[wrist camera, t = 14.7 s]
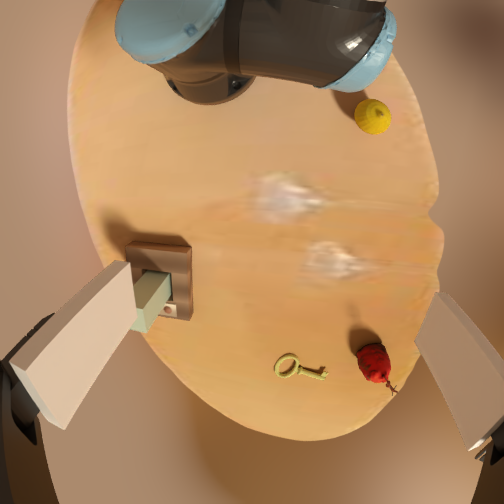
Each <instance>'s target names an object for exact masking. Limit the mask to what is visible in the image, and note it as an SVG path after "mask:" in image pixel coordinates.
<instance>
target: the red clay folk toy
mask: <svg viewBox="0 0 504 504" xmlns="http://www.w3.org/2000/svg"><path fill="white" fill-rule="evenodd" d="M357 357H358V366H359V369H360V370H361V371H362V373H363V375H364V376H365V378H366V379H367V380H368V381H373V382H374V383H380V382H383V383H384V382H386V381H387V384H386V387H389V388H390V389H391V391H392V396H393V392H396V393H398V391H395V390H394V389H395V388H396V386H397V385H396V386H395V388H394V389H393V387H392V386H391V385H390V381H388V375H389V373H390V370H391V364H390V359H389V356H388V354H387V352H386V348H385V346H384V345H383V344H381V343H378V344H370V345H367V346H364V347H362V349H361V350H359V351H358V352H357Z"/></svg>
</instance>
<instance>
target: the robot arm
mask: <svg viewBox="0 0 504 504" xmlns="http://www.w3.org/2000/svg"><path fill="white" fill-rule="evenodd" d="M386 1H387V0H124V1H123V3H122V5H121V7H120V9H119V11H118V13H117V16H116V21H115V36H116V39H117V42H118V43H119V45H120V46H121V47H122V49H123V50H124V51H126V52H127V53H128V54H130V55H131V57H132V58H133V59H135V60H136V61H138V62H142V63H143V64H147V65H149V66H150V67H152V68H154V69H156V70H158V71H159V72H161V73H163V74H165V77H166V80H167V82H168V84H169V86H170V87H171V88H172V90H173V91H174V92H175V93H176V94H178V95H179V96H180V97H182V98H184V99H186V100H188V101H190V102H192V103H196V104H200V105H217V104H221V103H225V102H228V101H230V100H233V99H234V98H236V97H238V96H239V95H241V94H242V93H243V92H245V91H246V90H247V89H248V88H249V87H250V85H251V84H252V83H253V81H254V80H255V78H256V76H261V77H269V78H276V79H282V80H289V81H294V82H300V83H305V84H310V85H313V86H314V87H316V88H319V89H333V90H337V91H342V92H348V93H350V92H357V91H361V90H363V89H364V88H366V87H368V86H369V85H370V84H371V83H372V82H373V81H374V80H375V79H376V78H377V77H378V75H379V74H380V73H381V71H382V70H383V68H384V67H385V65H386V63H387V61H388V59H389V57H390V55H391V52H392V49H393V45H392V41H393V40H394V38H395V37H396V30H397V25H396V20H395V17H394V15H393V13H392V12H391V11H390V10H388V8H387V7H385V4H386ZM137 318H138V316H137V310H136V304H135V297H134V290H133V283H132V275H131V266H130V262H123V261H116V260H115V261H114V262H112V263H111V264H110V265H109V266H108V267H106V268H105V269H104V270H103V271H102V272H100V273H99V274H98V275H97V276H96V277H95V278H94V279H92V280H91V281H90V282H89V283H88V284H87V285H86V286H84V287H83V288H82V289H81V290H80V291H79V292H78V293H77V294H75V295H74V296H73V297H72V298H71V299H70V300H69V301H68V302H67V303H66V304H65V305H64V306H63V307H61V308H60V309H59V310H58V311H57V312H56V313H52V314H51V315H49V316H47V317H45V318H43V319H42V320H41V321H40V322H39V323H38V324H37V325H36V326H35V327H34V329H31V331H29V333H27V336H25V337H24V338H23V339H22V340H21V341H20V342H19V343H18V344H17V345H16V346H15V347H14V348H13V349H12V350H11V351H10V352H9V353H8V354H7V355H6V356H5V358H4V359H3V360H1V361H0V504H59V502H58V499H57V496H56V493H55V489H54V486H53V483H52V479H51V476H50V472H49V468H48V464H47V460H46V455H45V450H44V445H43V440H42V433H41V427H40V422H39V419H38V417H37V414H38V413H39V411H41V412H42V414H43V415H44V417H45V418H46V419H47V421H49V422H51V423H52V424H54V425H56V426H58V427H59V428H61V429H63V430H65V429H66V427H67V425H68V423H69V422H70V420H71V418H72V417H73V415H74V413H75V412H76V410H77V408H78V407H79V405H80V403H81V402H82V400H83V399H84V397H85V395H86V394H87V392H88V391H89V389H90V387H91V385H92V384H93V383H94V381H95V379H96V378H97V376H98V375H99V373H100V372H101V370H102V369H103V367H104V366H105V364H106V363H107V361H108V360H109V358H110V356H111V355H112V353H113V352H114V351H115V349H116V348H117V346H118V345H119V343H120V342H121V340H122V339H123V337H124V336H125V334H126V333H127V332H128V330H129V329H130V327H131V326H132V325H133V323H134V322H135V320H136V319H137ZM414 342H415V344H416V346H417V347H418V349H419V351H420V353H421V354H422V356H423V358H424V360H425V362H426V363H427V365H428V367H429V369H430V371H431V373H432V375H433V377H434V378H435V380H436V382H437V384H438V386H439V388H440V390H441V392H442V394H443V396H444V399H445V401H446V403H447V405H448V407H449V409H450V411H451V414H452V416H453V418H454V420H455V422H456V425H457V427H458V429H459V432H460V434H461V436H462V439H463V441H464V444H465V446H466V449H467V451H469V450H471V449H473V448H476V447H478V446H480V445H481V444H482V443H483V442H484V441H485V440H486V439H487V438H489V437H490V436H491V437H492V441H491V442H490V443H488V444H487V445H486V446H485V447H484V448H483V449H482V450H481V451H480V452H479V453H478V454H477V455H476V457H475V459H477V458H478V457H480V456H481V455H482V454H483V453H486V454H485V455H483V456H482V457H481V458H480V461H483V466H482V470H481V474H480V477H479V481H478V484H477V487H476V490H475V493H474V496H473V499H472V502H471V504H504V361H503V359H502V358H501V356H500V355H499V354H498V353H497V351H496V350H495V349H494V347H493V346H492V345H491V343H490V342H489V341H488V340H487V338H486V337H485V336H484V335H483V334H482V332H481V331H480V330H479V329H478V327H477V326H476V325H475V324H474V323H473V321H472V320H471V319H470V318H469V317H468V316H467V315H466V313H465V312H464V311H463V310H462V309H461V308H460V307H459V306H458V305H457V303H456V302H455V301H454V300H453V299H452V298H451V297H450V296H449V295H448V294H447V293H438V292H435V294H434V297H433V299H432V302H431V304H430V307H429V309H428V312H427V314H426V316H425V319H424V321H423V323H422V326H421V328H420V330H419V332H418V334H417V336H416V339H415V341H414Z"/></svg>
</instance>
